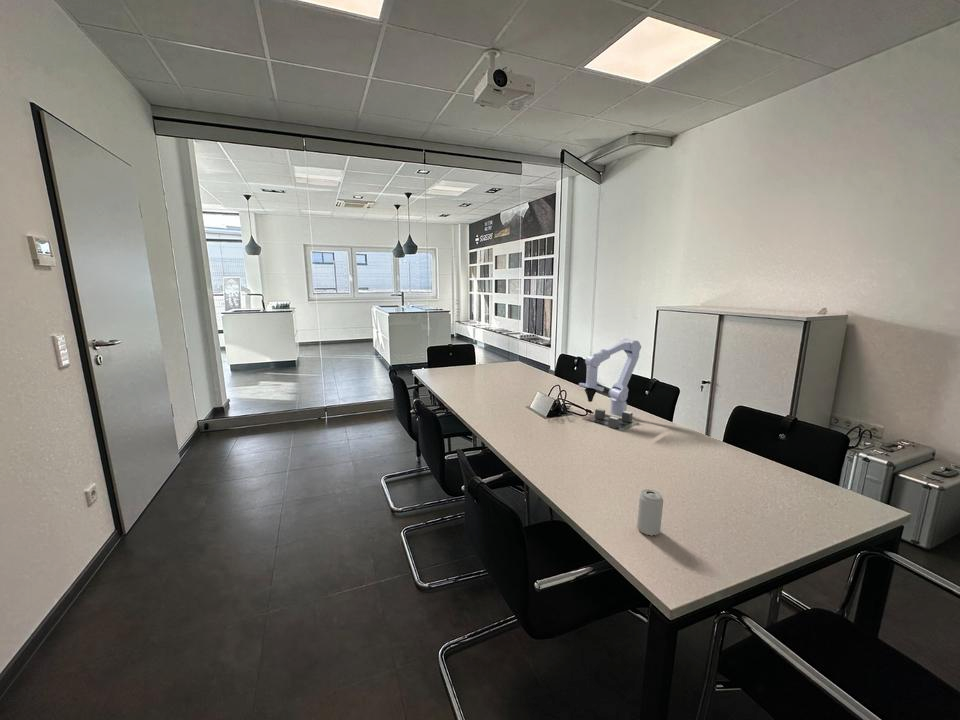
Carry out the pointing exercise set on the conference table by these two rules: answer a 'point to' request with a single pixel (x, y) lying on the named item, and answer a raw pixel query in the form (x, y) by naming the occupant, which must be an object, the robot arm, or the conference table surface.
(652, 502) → the beverage can
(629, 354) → the robot arm
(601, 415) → the breaker
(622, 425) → the panel
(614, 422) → the block
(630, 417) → the breaker
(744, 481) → the conference table surface
